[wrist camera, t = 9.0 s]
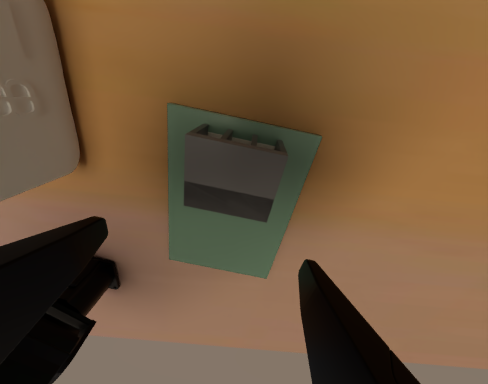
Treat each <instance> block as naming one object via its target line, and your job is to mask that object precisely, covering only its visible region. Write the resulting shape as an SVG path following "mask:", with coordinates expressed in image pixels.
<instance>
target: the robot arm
mask: <svg viewBox="0 0 488 384" xmlns="http://www.w3.org/2000/svg"><path fill="white" fill-rule="evenodd" d="M107 236H108V229H107V224H106V220H105V219H104V218H101V217H96V216H93V217H89V218H86V219H83V220H80V221H77V222H74V223H71V224H68V225H65V226H62V227H59V228H56V229H52V230H49V231H46V232H43V233H40V234H37V235H34V236H31V237H28V238H25V239H22V240H19V241H15V242H12V243H9V244H6V245H3V246H0V384H52V383H53V382H54V381H55V380H56V379H57V378H58V377H59V376H60V375H61V373H63V371H64V370H65V369H66V368H67V366H68V365H69V364H70V362H71V361H72V359H73V358H74V357H75V355H76V353H77V352H78V350H79V349H80V347H81V346H82V344H83V342H84V341H85V339H86V338H87V336H88V334H89V333H90V331H91V330H92V328H93V327H94V325H95V323H96V321H94V320H90V319H89V318H87V317H85V316H86V315H87V314H88V313H89V311H90V310H91V309H92V308H93V306H94V305H95V304H96V303H97V301H98V300H99V299H100V298H101V296H102V295H103V294H104V293H105V291H106V290H107V289H108V288H111V289H118V288H119V287H120V285H119V280H118V276H117V271H116V267H115V263H114V262H112V261H108V260H103V259H98V258H93V256H94V254H95V253H96V251H97V250H98V249H99V247H100V246H101V245H102V243H103V242H104V240H105V239H106V238H107ZM298 279H299V295H300V310H301V318H302V324H303V330H304V336H305V342H306V348H307V354H308V360H309V366H310V372H311V378H312V384H420V383H419V381H418V380H417V379H416V378H415V377H414V376H413V374H411V372H410V371H409V370H408V369H407V368H406V367H405V365H404V364H403V363H402V362H401V361H400V360H399V358H398V357H397V356H396V355H395V354H394V353H393V351H392V350H390V349H389V347H388V346H387V344H386V343H385V342H384V341H383V340H382V339H381V337H380V336H379V335H378V334H377V333H376V332H375V330H374V329H373V328H372V327H371V326H370V325H369V323H368V322H367V321H366V320H365V319H364V318H363V316H362V315H361V314H360V313H359V312H358V311H357V309H356V308H355V307H354V306H353V305H352V304H351V302H350V301H349V300H348V299H347V298H346V296H345V295H344V294H343V293H342V292H341V291H340V289H339V288H338V287H337V286H336V285H335V284H334V282H333V281H332V280H331V279H330V278H329V277H328V275H327V274H326V273H325V272H324V271H323V270H322V268H321V267H320V266H319V265H318V264H317V263H316V262H315V261H313V260H308V259H306V260H305V261H304V262H303V264H302V266H301V268H300V270H299V274H298Z"/></svg>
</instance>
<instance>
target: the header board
mask: <svg viewBox="0 0 488 384" xmlns="http://www.w3.org/2000/svg"><path fill="white" fill-rule="evenodd" d="M167 112H168V201H169V259H170V260H175V261H180V262H185V263H190V264H195V265H200V266H205V267H210V268H215V269H220V270H225V271H230V272H235V273H240V274H245V275H250V276H255V277H260V278H265V279H267V276H268V274H269V271H270V269H271V266H272V264H273V261H274V259H275V256H276V253H277V251H278V248H279V246H280V243H281V241H282V238H283V236H284V233H285V231H286V228H287V225H288V223H289V220H290V218H291V215H292V213H293V210H294V208H295V205H296V203H297V200H298V197H299V195H300V192H301V190H302V187H303V185H304V182H305V180H306V177H307V175H308V172H309V170H310V167H311V164H312V162H313V159H314V157H315V154H316V152H317V149H318V147H319V144H320V142H321V139H322V136H320V135H317V134H313V133H308V132H303V131H299V130H294V129H290V128H285V127H280V126H276V125H271V124H267V123H262V122H257V121H253V120H248V119H244V118H239V117H234V116H230V115H225V114H221V113H216V112H211V111H207V110H202V109H198V108H193V107H188V106H184V105H179V104H175V103H167ZM202 124H209V126H208V136H211V137H216V138H221V137H222V136H223V134H224V133H225V132H226V131H227V130H228V129H232V130H233V135H232V141H234V142H239V143H244V144H248V145H251V140H252V136H253V134H255V135H258V138H257V146H258V147H262V148H267V149H272V150H274V149H275V145H276V142H277V139H278V140H282V141H283V144H284V146H285V149H286V151H287V154H288V156H289V157H288V160H287V163H286V166H285V169H284V172H283V175H282V178H281V181H280V184H279V187H278V190H277V193H276V196H275V199H274V202H273V205H272V208H271V211H270V214H269V217H268V220H267V223H265V222H261V221H256V220H251V219H246V218H241V217H236V216H231V215H227V214H222V213H217V212H212V211H207V210H202V209H197V208H192V207H188V206H184V159H185V134H186V133H188V132H190V131H191V130H193V129H195V128H197V127H198V126H200V125H202Z"/></svg>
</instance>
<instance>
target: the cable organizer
mask: <svg viewBox="0 0 488 384" xmlns="http://www.w3.org/2000/svg"><path fill="white" fill-rule="evenodd" d="M79 159H80V149H79V142H78V137H77V133H76V128H75V123H74V119H73V116H72V112H71V108H70V103H69V98H68V94H67V89H66V85H65V80H64V76H63V69H62V64H61V60H60V55H59V50H58V46H57V41H56V37H55V34H54V30H53V26H52V21H51V18H50V14H49V11H48V9H47V6H46V4H45V2H44V0H0V201H2V200H5V199H7V198H10V197H12V196H15V195H18V194H20V193H23V192H25V191H28V190H30V189H33V188H35V187H38V186H40V185H43V184H45V183H48V182H50V181H53V180H55V179H58V178H60V177H63V176H65V175H68V174H70V173H72V172H73V171H74V170H75V169H76V167H77V165H78V163H79Z"/></svg>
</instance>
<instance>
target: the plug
mask: <svg viewBox="0 0 488 384" xmlns="http://www.w3.org/2000/svg"><path fill="white" fill-rule="evenodd" d="M208 126H209V124H202V125H200V126H198V127H197V128H195V129H193V130H191V131H190V132H188V133H186V134H185V159H184V206H188V207H192V208H197V209H202V210H207V211H212V212H217V213H222V214H227V215H231V216H236V217H241V218H246V219H251V220H256V221H261V222H265V223H267V220H268V217H269V214H270V211H271V208H272V205H273V202H274V199H275V196H276V193H277V190H278V187H279V184H280V181H281V178H282V175H283V172H284V169H285V166H286V163H287V160H288V157H289V156H288V154H287V151H286V149H285V146H284V144H283V141H282V140H278V139H277V142H276V145H275V149H274V150H272V149H267V148H262V147H258V146H257V138H258V135H255V134H253V136H252V140H251V145H248V144H244V143H239V142H234V141H232V135H233V130H232V129H228V130H227V131H226V132H225V133H224V134H223V136H222V137H221V138H216V137H211V136H208Z"/></svg>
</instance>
